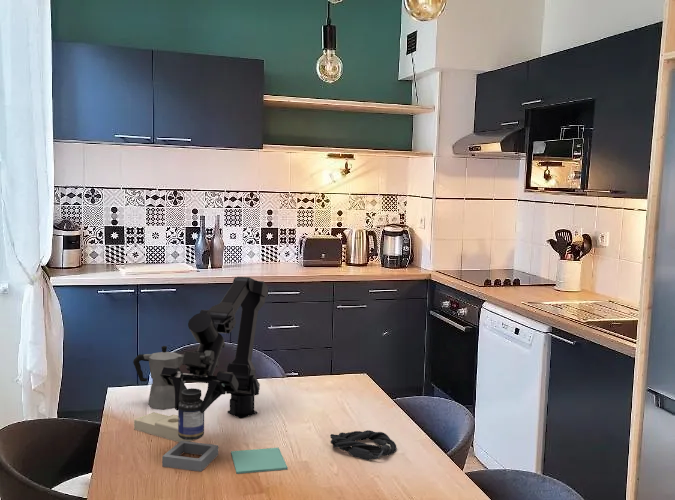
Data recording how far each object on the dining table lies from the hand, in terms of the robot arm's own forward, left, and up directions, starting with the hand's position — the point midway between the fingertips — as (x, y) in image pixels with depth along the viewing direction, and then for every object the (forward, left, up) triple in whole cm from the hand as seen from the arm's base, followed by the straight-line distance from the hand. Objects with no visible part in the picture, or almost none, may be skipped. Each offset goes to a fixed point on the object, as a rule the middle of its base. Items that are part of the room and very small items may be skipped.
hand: (188, 411), depth 157 cm
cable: (-38, +21, -13) cm, 46 cm away
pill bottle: (-1, -1, -7) cm, 7 cm away
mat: (-13, +10, -13) cm, 21 cm away
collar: (-1, -1, -13) cm, 13 cm away
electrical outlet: (-7, -20, -13) cm, 25 cm away
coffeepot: (-16, -41, -13) cm, 46 cm away
